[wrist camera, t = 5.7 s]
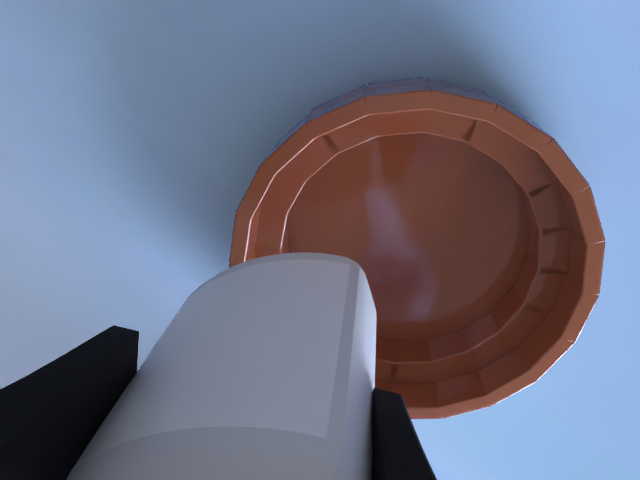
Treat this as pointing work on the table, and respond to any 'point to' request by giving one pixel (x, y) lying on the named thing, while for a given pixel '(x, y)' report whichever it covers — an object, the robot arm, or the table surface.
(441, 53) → the table surface
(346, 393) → the eye dropper bottle
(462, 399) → the bowl
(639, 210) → the table surface
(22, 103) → the table surface
